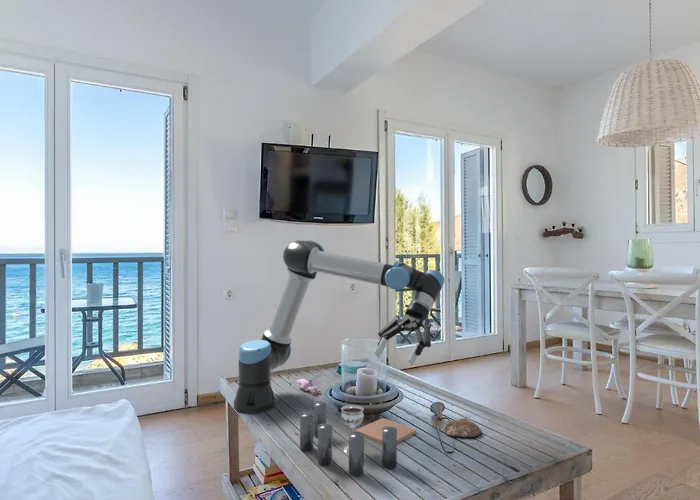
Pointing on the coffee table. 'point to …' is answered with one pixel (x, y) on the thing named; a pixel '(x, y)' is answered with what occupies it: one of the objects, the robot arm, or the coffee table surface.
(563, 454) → the coffee table surface
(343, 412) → the wineglass
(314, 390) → the rabbit figure
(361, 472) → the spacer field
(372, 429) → the terracotta tile
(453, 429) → the shell
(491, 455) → the coffee table surface
